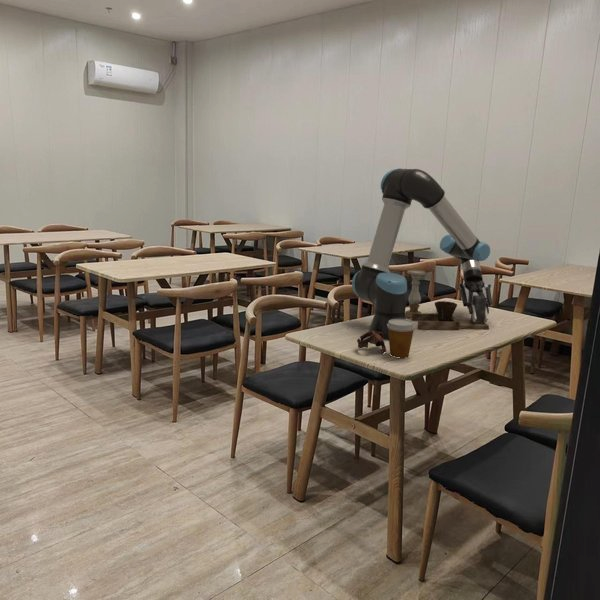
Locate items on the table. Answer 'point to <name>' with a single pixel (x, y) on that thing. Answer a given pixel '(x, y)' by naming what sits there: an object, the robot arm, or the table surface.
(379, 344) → the dark brown arched piece
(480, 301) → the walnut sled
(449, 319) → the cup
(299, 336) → the table surface
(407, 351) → the disposable coffee cup
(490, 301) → the robot arm
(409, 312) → the candle holder
